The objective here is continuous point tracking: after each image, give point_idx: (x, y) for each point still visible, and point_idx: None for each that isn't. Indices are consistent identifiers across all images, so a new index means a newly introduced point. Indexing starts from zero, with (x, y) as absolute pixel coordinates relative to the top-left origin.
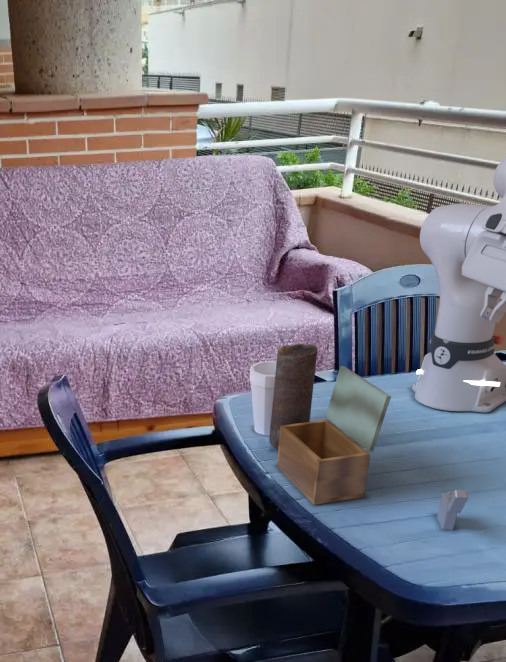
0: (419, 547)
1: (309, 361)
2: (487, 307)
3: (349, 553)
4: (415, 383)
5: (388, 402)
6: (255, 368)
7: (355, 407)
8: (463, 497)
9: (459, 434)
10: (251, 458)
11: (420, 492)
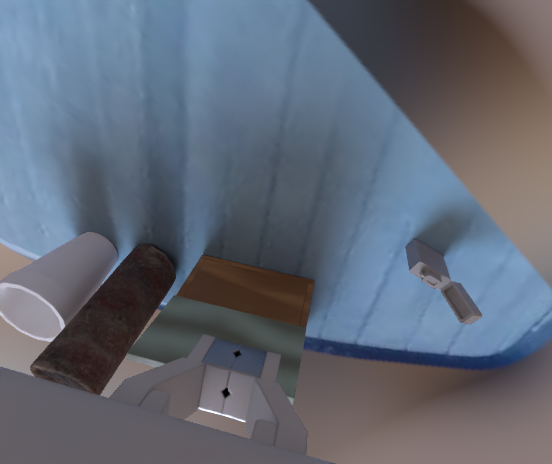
0: (444, 309)
1: (99, 378)
2: (204, 407)
3: (405, 359)
4: None
5: (295, 389)
6: (17, 319)
7: None
8: (477, 319)
9: None
10: None
11: (339, 218)
